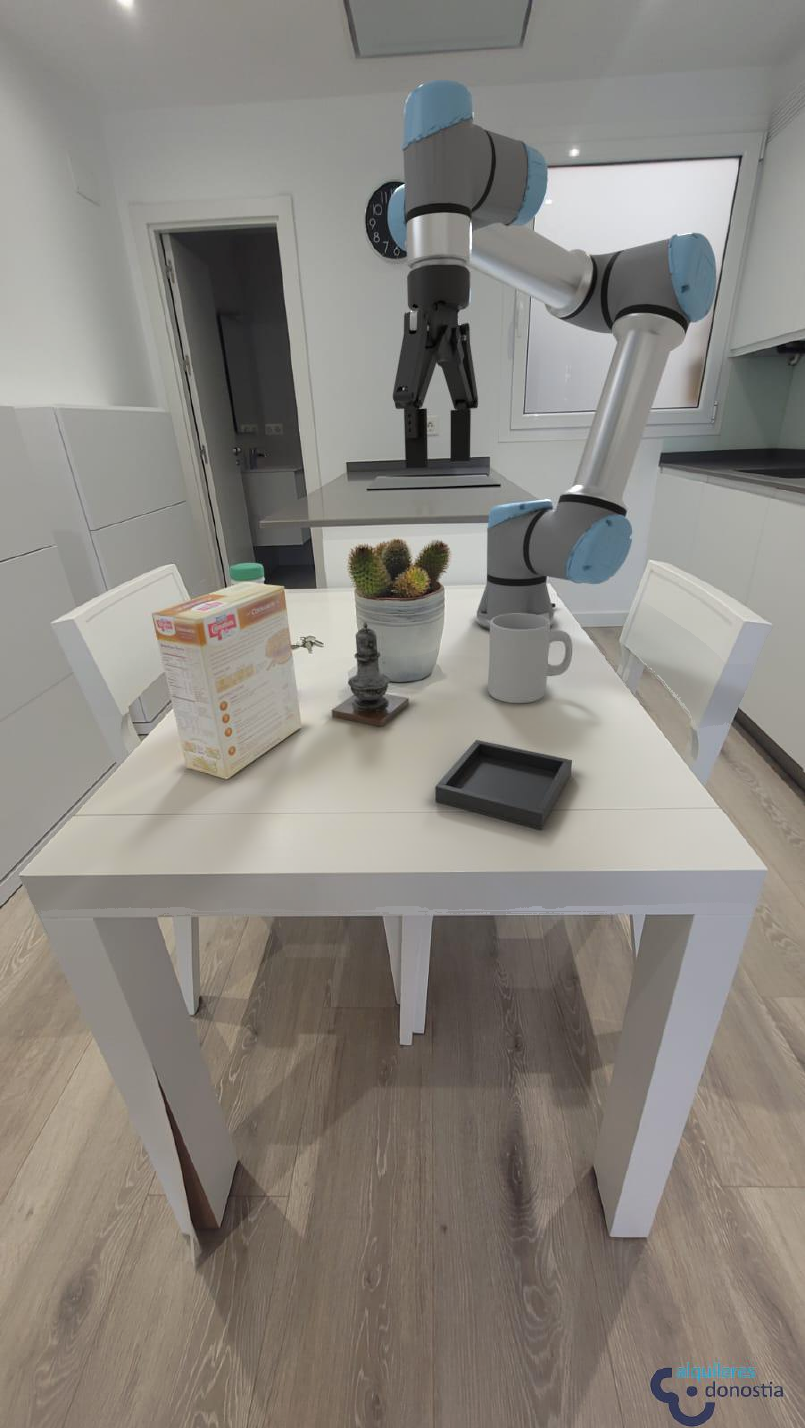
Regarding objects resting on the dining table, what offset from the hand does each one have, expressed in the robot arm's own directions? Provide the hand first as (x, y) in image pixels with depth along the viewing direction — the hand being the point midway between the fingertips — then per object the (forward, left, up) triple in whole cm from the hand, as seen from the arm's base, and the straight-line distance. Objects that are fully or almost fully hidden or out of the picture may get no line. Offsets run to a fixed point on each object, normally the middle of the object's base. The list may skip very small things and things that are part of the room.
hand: (439, 464), depth 79 cm
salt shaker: (+13, -5, -31) cm, 34 cm away
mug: (-2, +13, -32) cm, 35 cm away
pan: (+24, +19, -32) cm, 44 cm away
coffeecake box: (+29, -14, -32) cm, 45 cm away
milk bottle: (+16, -22, -32) cm, 42 cm away
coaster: (+13, -5, -32) cm, 35 cm away
